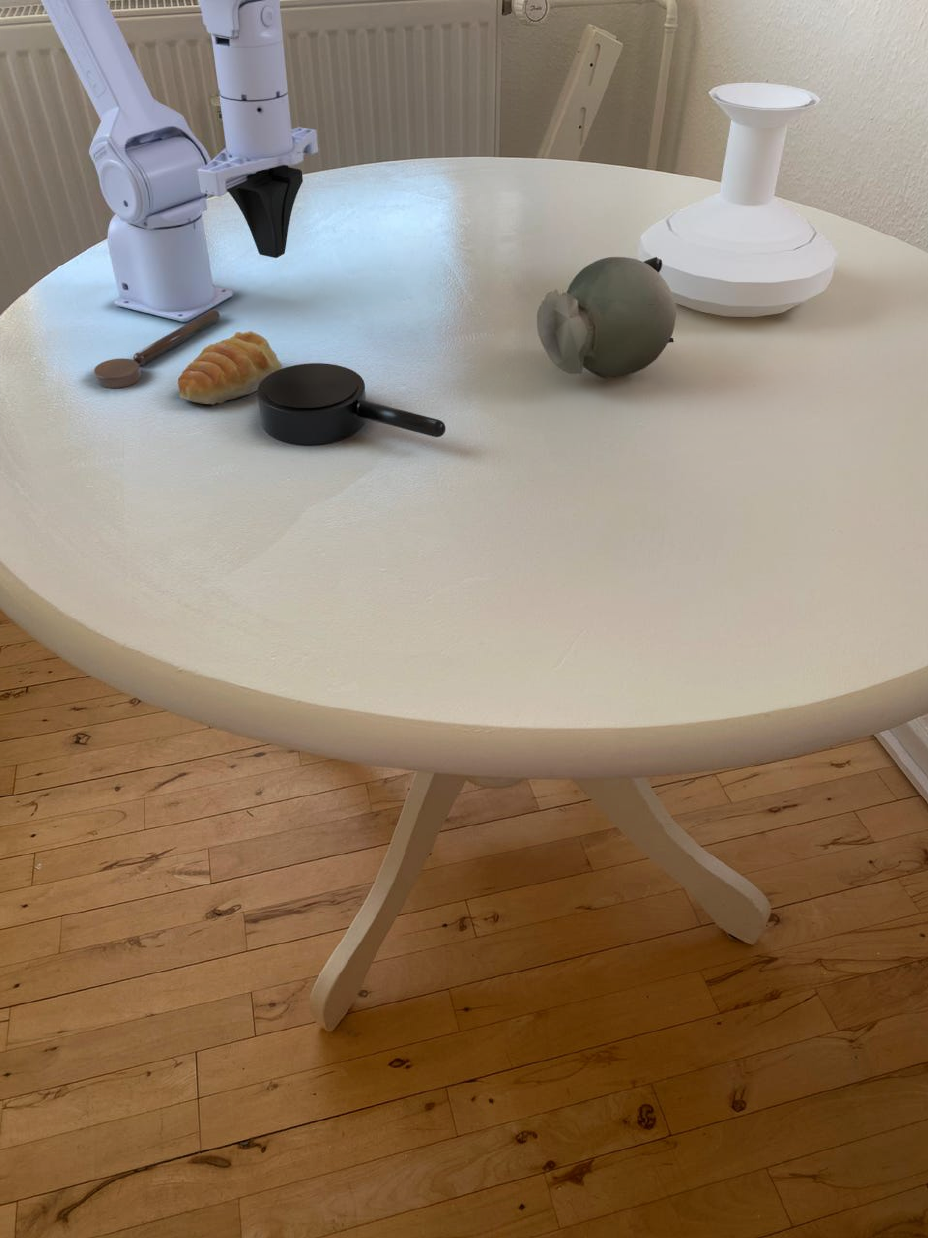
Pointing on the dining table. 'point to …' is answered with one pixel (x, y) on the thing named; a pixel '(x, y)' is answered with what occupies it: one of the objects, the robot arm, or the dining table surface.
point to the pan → (326, 406)
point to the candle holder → (745, 219)
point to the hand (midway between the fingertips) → (272, 253)
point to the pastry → (228, 369)
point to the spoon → (148, 354)
